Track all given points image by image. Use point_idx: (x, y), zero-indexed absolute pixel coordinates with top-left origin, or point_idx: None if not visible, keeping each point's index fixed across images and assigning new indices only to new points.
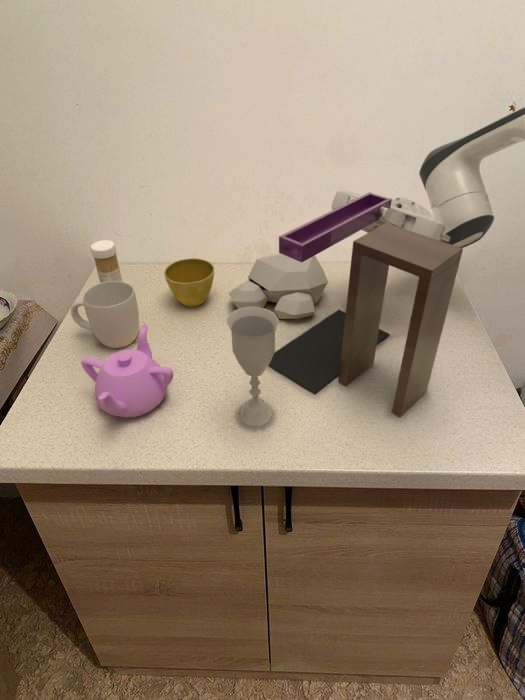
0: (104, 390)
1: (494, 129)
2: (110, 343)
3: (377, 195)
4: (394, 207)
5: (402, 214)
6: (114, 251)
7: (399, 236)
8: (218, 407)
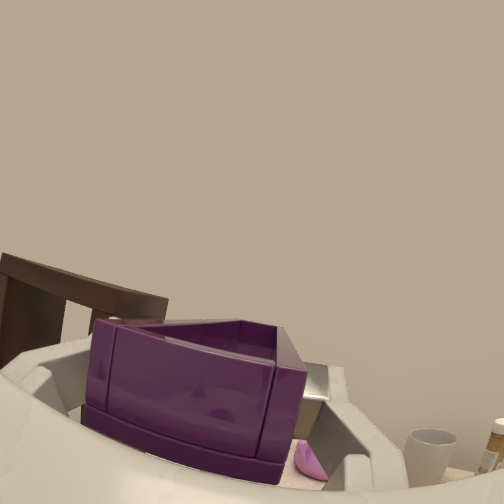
0: None
1: None
2: None
3: (212, 349)
4: (49, 408)
5: (24, 355)
6: (500, 431)
7: (92, 280)
8: (253, 482)
